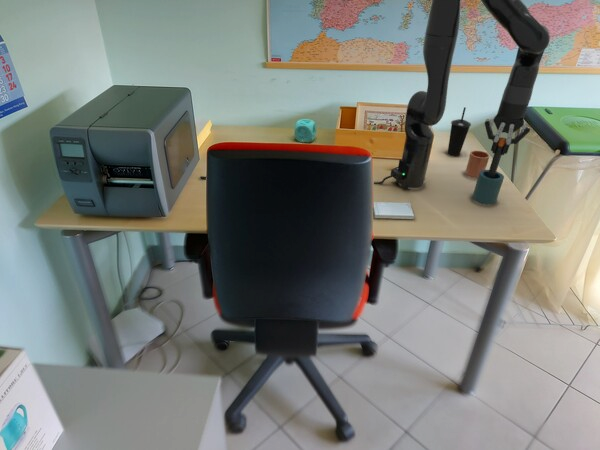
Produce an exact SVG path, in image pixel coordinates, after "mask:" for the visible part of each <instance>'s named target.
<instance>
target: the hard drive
mask: <svg viewBox="0 0 600 450" xmlns="http://www.w3.org/2000/svg"><path fill="white" fill-rule="evenodd" d="M373 202H374V208H372V211H373V217H374V219H391V220H392V219H394V220H415V214H414V212H413V211H414V210H413V209H412V206H411V203H410V202H390V201H388V202H386V201H373Z"/></svg>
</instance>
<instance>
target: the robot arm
mask: <svg viewBox="0 0 600 450" xmlns="http://www.w3.org/2000/svg"><path fill="white" fill-rule="evenodd" d="M480 2H481V3H482V4H483V6H484V8H485V9H486V10H487V12H488V13H489V14H490V15H491V16H492V18H493V19H494V20H495V22H497V24H499V25H500V26H501V28H502V29H504V30H505V31H506V32H507V33H508V35H509V36H510V38H511V39H512V40H513V42H514V43H515V45H516V46H517V47H518V48H517V51H516V56H515V61H514V63H513V65H512V67H511V69H510V73H509V76H508V79H507V83H506V85H505V87H504V90H503V93H502V97H501V99H500V103H499V106H498V110H497V113H496V115H495V116H494V117H493V118H491V119H489V118H487V119H485V121H484V127H485V131H486V135H487V138H488V140H491V141H492V145H491V148H490V151H491V154H494V153H495V150H496V147H497V144H498V140H499V138H501V135H502V133H503V134H504V133H505V134H507V138H506V139H507V140H506V143H505V146H504V149H503V152H502V155H501V156H505V155H507V153H508V152H509V148H510V146H511V145H517V144H518V143H519V142H520V141H521V140H522V139H524V137H525V136H527V135H528V134H529V133H530V132H531V126H530V125H527V124H525V120H524V119H525V115H526V113H527V110H528V107H529V104H530V101H531V99H532V95H533V91H534V86H535V83H536V81H537V78H538V74H539V70H540V64H541V61H542V58H543V56H544V54H545V50H546V49H547V48H548V46H549V44H550V41H551V33H550V31H549V29H548V28H547V26H545V25H544V24H541V23H540V22H539V21H538V20H537V19H536V18H535V16H533V15H532V14H531V12H530V10H529V8H528V7H527V6H526V4H525V3H524V2H523V1H522V0H480ZM460 19H461V0H432V2H431V5H430V10H429V13H428V19H427V24H426V28H425V34H424V40H423V45H422V46H423V47H422V55H423V62H424V66H425V71H426V75H427V87H426V88H427V89H426V91H424V90H419V91H417V92H414V93H413V95H412V96H411V97H410V99H409V101H408V103H407V107H406V112H405V121H404V132H405V139H404V144H403V150H402V156H401V158H400V159H399V160H398V166H397V168H392V169H390V175H388V176H386V177H384V178H383V179H382V181H377V182H374V181H373V182H374V184H373V185H382V184H384V182H385V181H386V180H388V179H391V178H393V179H394V180H395V184H397V185H398V186H399V187H401V188H402V189H403V190H404V191H412V190H417V189H421V188H423V187H424V186H425V182H426V180H427V178H426V175H427V171H428V165H429V161H430V158H431V157H430V156H431V152H432V148H433V141H434V136H435V135H434V133H433V132H434V131H432V129H431V128H430V127H432V126H436V125H437V124H438V123H439V122H440V121H441V120H442V118H443V116H444V114H445V110H446V106H447V98H448V97H447V96H448V89H449V88H448V87H449V80H450V74H451V68H452V62H453V58H454V53H455V49H456V45H457V40H458V36H459V29H460V22H461V21H460ZM494 125H495V127H496V133H495V134H494V132H493V129H492V127H493V126H494ZM518 130H520V133H518V134H517V135H516V136H515V137H514V138H513V136H514V135H513V134H514V133H515V132H516V131H518ZM206 177H207V176H203V175H202V176H200V179H202V180H204V179H205V178H206Z"/></svg>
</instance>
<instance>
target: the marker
mask: <svg viewBox="0 0 600 450" xmlns="http://www.w3.org/2000/svg"><path fill="white" fill-rule="evenodd" d="M506 141H507V138H506V137H501V136H500V137H499V139H498V144H497V147H496V150H495V153H493V156H492V160H491V163H490V167H489V169H488V170H489V172H488V175H487V177H488V178H493V179H494V177H495V174H496V171H497V172H498V168H499V164H500V161H501V158H502V156H503V155H502V152H503V149H504V146H505V143H506Z"/></svg>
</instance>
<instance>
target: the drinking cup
mask: <svg viewBox="0 0 600 450" xmlns="http://www.w3.org/2000/svg"><path fill="white" fill-rule="evenodd" d="M466 109H467V107H463V111H462V114H461V118H459V119H453V120H451V122H450V124H451V125H450V133H449V140H448V146H447V147H448V148H447V155H448V156H451V157H459V156H460V154H461V152H462V149H463V147H464V143H465V141H466V138H467V135H468V133H469V130H470V127H471V126H472V123H471V122H470V121H468V120H465V119H464V117H465V112H466Z"/></svg>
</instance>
